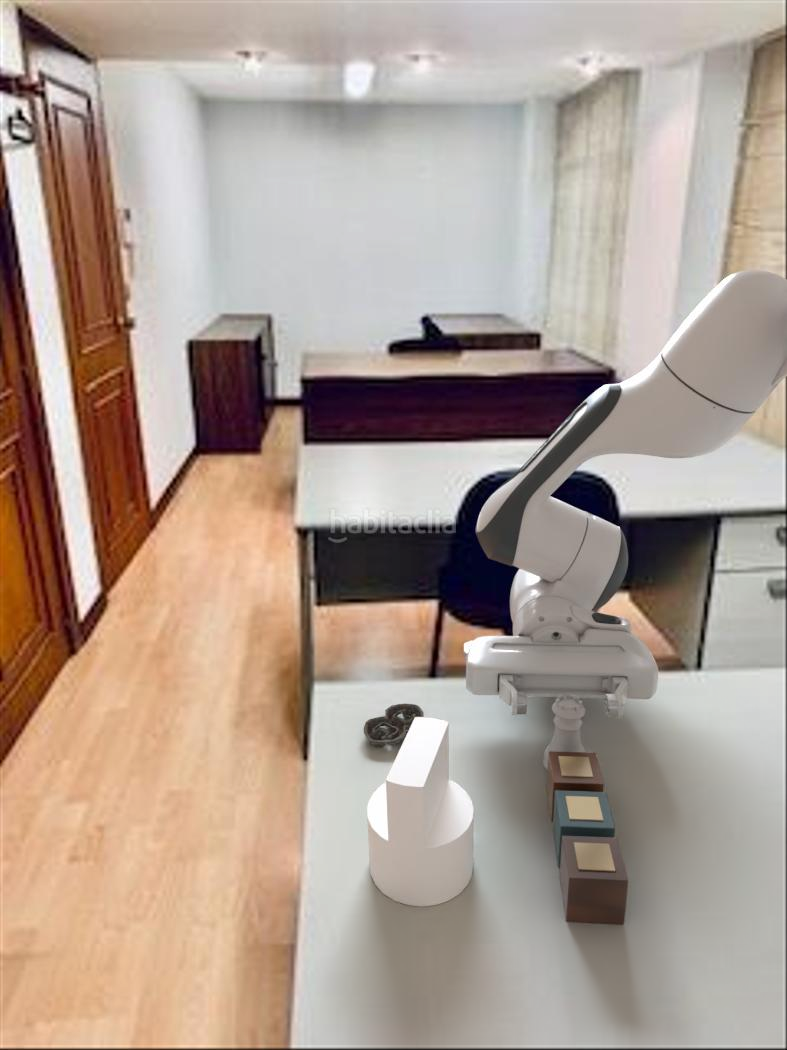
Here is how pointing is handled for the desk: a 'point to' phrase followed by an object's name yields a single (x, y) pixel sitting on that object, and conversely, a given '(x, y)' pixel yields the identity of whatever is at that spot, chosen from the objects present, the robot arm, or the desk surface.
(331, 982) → the desk surface
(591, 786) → the block
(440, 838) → the cylinder with rectangular tab
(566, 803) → the block middle
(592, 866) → the block
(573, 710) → the rook chess piece
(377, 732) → the corroded twin loop
